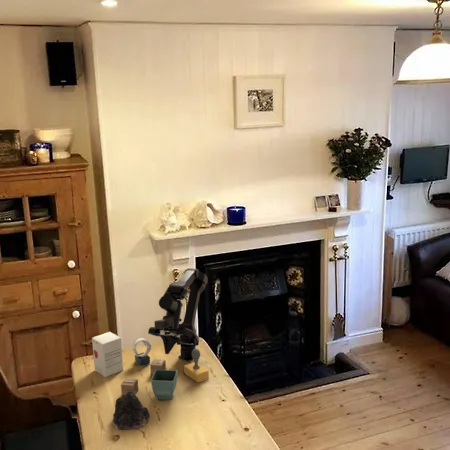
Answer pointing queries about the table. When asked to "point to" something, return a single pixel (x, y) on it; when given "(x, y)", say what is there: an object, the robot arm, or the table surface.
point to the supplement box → (107, 354)
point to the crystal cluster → (130, 412)
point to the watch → (142, 357)
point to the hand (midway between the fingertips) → (166, 354)
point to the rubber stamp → (196, 368)
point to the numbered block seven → (157, 365)
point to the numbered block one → (129, 386)
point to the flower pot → (164, 383)
